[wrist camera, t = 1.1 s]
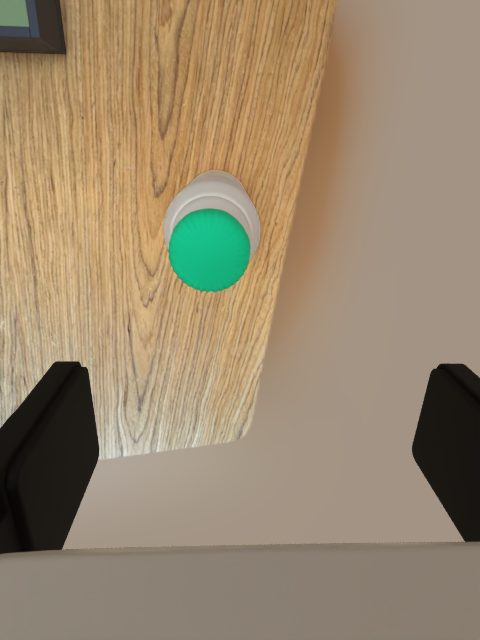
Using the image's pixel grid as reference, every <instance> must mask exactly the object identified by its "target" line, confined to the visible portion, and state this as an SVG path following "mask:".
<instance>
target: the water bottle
mask: <svg viewBox="0 0 480 640" xmlns="http://www.w3.org/2000/svg"><path fill="white" fill-rule="evenodd" d="M260 234H261V226H260V220H259V216H258V213H257V210H256V208H255V206H254V204H253V203H252V201H251V200H250V198H249V196H248V194H247V193H246V191H245V188H244V187H243V185H242V184H241V182H240V181H239V180H238V179H237V178H236V177H235V176H233V175H232V174H230V173H228V172H225V171H222V170H209V171H205V172H203V173H201V174H199V175H198V176H196V177H195V178H194V179H193V180H192V181H191V182H190V183H189V184H188V185H187V186H186V187H185V188H184V189H183V190H182V191H180V192H179V193H178V194H177V195H176V196H175V198H174V199H173V200H172V202H171V203H170V205H169V207H168V209H167V212H166V215H165V219H164V238H165V243H166V246H167V248H168V252H169V259H170V265H171V266H172V268H173V270H174V272H175V273H176V274H177V276H178V278H180V279H181V280H182V281H183V283H186V284H187V285H188V286H189V287H193V288H194V289H199V290H200V291H207V292H210V291H212V292H217V291H222V290H224V289H228V288H229V287H230V286H231V285H234V284H235V282H236V281H238V280H239V279H240V277H241V276H242V275H243V274H244V272H245V270H246V269H247V265H248V263H249V262H250V260H251V259H252V258H253V256H254V254H255V252H256V250H257V248H258V245H259V241H260Z"/></svg>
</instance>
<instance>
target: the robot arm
mask: <svg viewBox="0 0 480 640" xmlns="http://www.w3.org/2000/svg"><path fill="white" fill-rule="evenodd" d="M412 453H413V457H414V459H415V461H416V463H417V465H418V466H419V468H420V469H421V471H422V473H423V474H424V476H425V478H426V479H427V481H428V482H429V484H430V485H431V487H432V489H433V491H434V492H435V494H436V495H437V497H438V498H439V500H440V502H441V503H442V505H443V507H444V508H445V510H446V512H447V513H448V515H449V517H450V518H451V520H452V521H453V523H454V525H455V526H456V528H457V530H458V531H459V533H460V534H461V536H462V537H463V539H464V541H465V542H412V543H411V542H409V543H334V544H274V545H273V544H271V545H220V546H219V545H218V546H171V547H127V548H94V549H67V550H62V548H63V545H64V542H65V540H66V538H67V535H68V533H69V530H70V528H71V525H72V523H73V520H74V518H75V516H76V513H77V511H78V508H79V506H80V503H81V501H82V498H83V496H84V493H85V491H86V488H87V486H88V483H89V481H90V479H91V476H92V474H93V471H94V469H95V466H96V464H97V461H98V457H99V443H98V436H97V429H96V422H95V415H94V408H93V401H92V394H91V387H90V380H89V373H88V369H87V368H86V367H81V364H80V363H79V362H60V361H58V362H55V363H53V365H52V366H51V367H50V369H49V370H48V371H47V372H46V374H45V375H44V376H43V377H42V379H41V380H40V381H39V382H38V384H37V385H36V386H35V387H34V389H33V390H32V391H31V392H30V394H29V395H28V396H27V398H26V399H25V400H24V401H23V403H22V404H21V405H20V406H19V408H18V409H17V410H16V411H15V412H14V413H13V414H12V415H11V416H10V417H9V418H8V419H7V421H6V422H5V423H4V424H3V426H2V427H1V428H0V640H480V378H479V377H478V376H477V375H476V374H474V373H473V372H472V371H471V370H470V369H469V368H468V367H467V366H466V365H464V364H440V365H439V366H438V367H437V369H433V370H432V371H431V374H430V378H429V381H428V385H427V390H426V393H425V397H424V401H423V405H422V409H421V413H420V417H419V421H418V425H417V429H416V433H415V437H414V441H413V445H412Z"/></svg>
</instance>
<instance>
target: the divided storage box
mask: <svg viewBox="0 0 480 640" xmlns="http://www.w3.org/2000/svg"><path fill="white" fill-rule="evenodd" d="M0 52H19V53H47V54H66V50H65V42H64V34H63V26H62V19H61V11H60V3H59V0H0Z"/></svg>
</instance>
